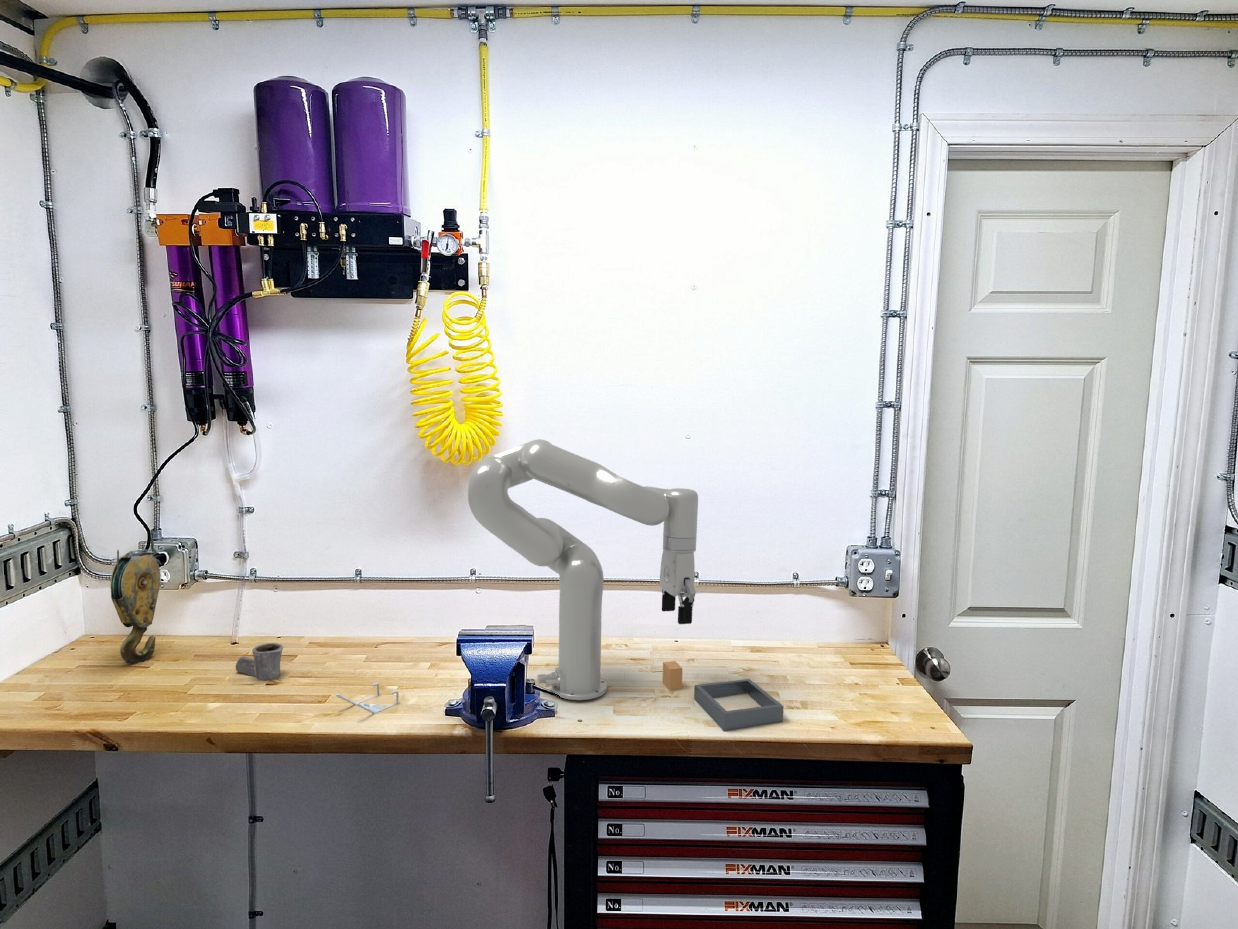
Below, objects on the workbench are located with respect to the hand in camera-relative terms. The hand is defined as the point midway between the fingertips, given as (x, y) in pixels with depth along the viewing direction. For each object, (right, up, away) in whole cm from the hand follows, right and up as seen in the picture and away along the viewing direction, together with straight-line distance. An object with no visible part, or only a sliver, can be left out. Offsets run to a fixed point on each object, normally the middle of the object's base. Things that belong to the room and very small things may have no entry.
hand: (676, 617), depth 166 cm
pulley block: (-132, -15, +14) cm, 134 cm away
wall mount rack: (-67, -18, -10) cm, 70 cm away
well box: (+12, -20, -10) cm, 25 cm away
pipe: (-98, -16, +6) cm, 100 cm away
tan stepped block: (+2, -18, +2) cm, 18 cm away
